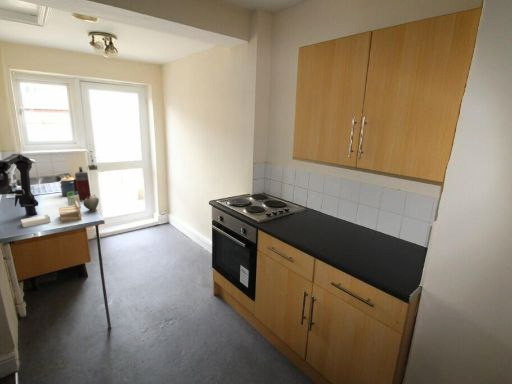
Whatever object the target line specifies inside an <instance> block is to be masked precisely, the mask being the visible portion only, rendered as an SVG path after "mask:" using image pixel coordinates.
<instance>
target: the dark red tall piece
mask: <svg viewBox="0 0 512 384" xmlns="http://www.w3.org/2000/svg"><path fill="white" fill-rule="evenodd" d="M74 178H75V179H74V182H73V184H74V190H75V191H78V194H77V195H79V200H80V201H84V200H85V199H86V198H87V197H89V196H92V195H91V189H90V188H91V187H90V181H89V173H88V171H87V170H84V171H83V166H78V171H75V172H74Z"/></svg>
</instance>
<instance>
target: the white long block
mask: <svg viewBox="0 0 512 384" xmlns="http://www.w3.org/2000/svg"><path fill="white" fill-rule="evenodd" d="M20 222H21V226H22V228H28V227H33V226H38V225H43V224H49V223H51V216H49V214H45V215H44V214H43V215H40V216H39V215H38V216H33V217H29V218H21V219H20ZM48 222H49V223H48Z"/></svg>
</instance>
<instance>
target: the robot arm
mask: <svg viewBox="0 0 512 384" xmlns="http://www.w3.org/2000/svg"><path fill="white" fill-rule="evenodd" d="M13 164H14V165H15V166H16V169H17V171H19V174H20V187H21V189H15V190H13V186H12V185H10V179H9V178H10V177H9V175H10V174H11V173H10V171H9V170H10V169H11V168H12V166H11V165H13ZM32 166H33V161H32V160H31V159H30V158H29V157H27V156H24V155H22V154H20V153H12V154H10V155H9V156H7V157H5V158H3V159H0V196H1V195H14V194H15V196H14V207H16V206H17V204H19V206H20V208H24V209H25V210H24V211H25V217H30V216H37V215H38V212H37V209H36V208H37V207H38V206H39V201H38V200H37V199H36V198H35V195H34V194H33V193H32V190H31V179H30V171H31V170H32Z"/></svg>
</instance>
